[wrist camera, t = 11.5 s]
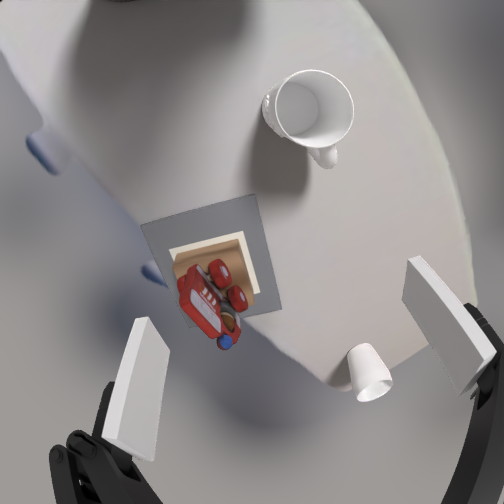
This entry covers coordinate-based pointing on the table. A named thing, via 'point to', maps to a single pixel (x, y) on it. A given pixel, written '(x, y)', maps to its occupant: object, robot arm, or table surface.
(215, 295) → the toy fire truck
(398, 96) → the table surface
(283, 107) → the mug
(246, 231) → the mat
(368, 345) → the cup
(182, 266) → the base block
